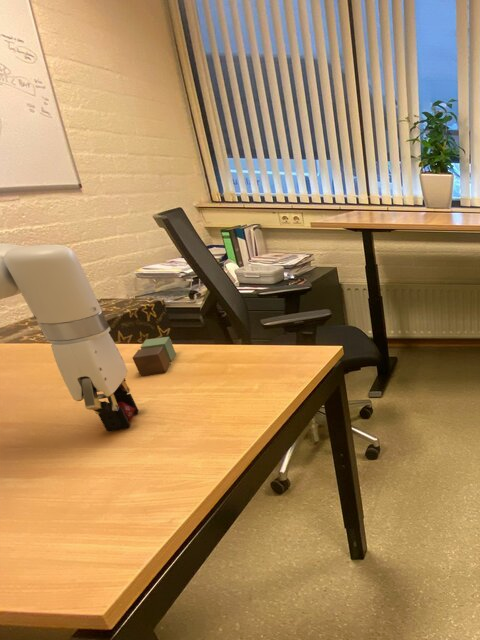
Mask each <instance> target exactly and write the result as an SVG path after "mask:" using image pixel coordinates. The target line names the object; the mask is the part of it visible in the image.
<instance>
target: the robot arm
mask: <svg viewBox="0 0 480 640" xmlns="http://www.w3.org/2000/svg"><path fill="white" fill-rule="evenodd" d="M19 294H21V295H22V298H23V299H24V301H25V303H26V305H27V307H28V308H29V310H30V312H31V314H32V315H33V317H34V319H35V321H36V322H37V325H38V326H39V328H40V330H41V332H42V333H43V335H44V337H45V339H46V342H47V343H49V344H51V346H50V347H51V350H52V354H53V358H54V361H55V363H56V366H57V368H58V371H59V372H60V376H61V377H62V379H63V381H64V384H65V386H66V388H67V390H68V392H69V393H70V395H71V397H72V399H73V400H74V401H75V402H81V401H83V400H84V406H85V409H86V410H89V411H94V413H95V414H96V415H98V417H99V419H100V421H101V423H102V425H103V427H104V428H105V430H106V432H110V433H111V432H114V431H115V432H116V431H121V430H126V429H129V428H130V427H131V423H130V422H129V421H128V419H127V417H126V415H125V413H124V411H123V409H122V407H121V408H118V404H117V403H118V402H124V403H126V404H128V405H130V406H131V407H133V408H135V411H134V414H133V415H138V413H139V411H140V410H139V408H138V406H137V403H136V402H135V400H134V397H133V395H132V394H131V393H130V392H131V390H130V387H129V386H128V384H127V380H126V377H127V374H128V369H127V366H126V363H125V361H124V359H123V356H122V354H121V352H120V350H119V348H118V346H117V345H116V343H115V341H114V339H113V337H112V336H111V334H110V333H109V332H110V331H111V326H110V325H109V323H108V320H107V318H106V316H105V314H104V312H103V310H102V308H101V306H100V303H99V302H98V298H97V296H96V295H95V292H94V290H93V288H92V286H91V284H90V282H89V279H88V278H87V276H86V273H85V271H84V269H83V266H82V265H81V262H80V260H79V258H78V256H77V254H76V252H74V250H73V249H72V248H70V247H68V246H66V245H62V244H52V243H51V244H34V245H33V244H32V245H21V244H14V243H6V242H5V243H3V242H0V300H3V299H7V298H11V297H14V296H16V295H19ZM99 392H100V393H99ZM101 392H102V393H101ZM101 399H107V401H106V400H103V401H101Z"/></svg>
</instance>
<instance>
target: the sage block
mask: <svg viewBox="0 0 480 640" xmlns="http://www.w3.org/2000/svg"><path fill="white" fill-rule="evenodd" d="M162 346H163V348H164V350H165V353H166V355H167V358H168V360H169V363H171V362H173V360H174V358H175V357H176V355H177V352H176V350H175V348H174V345H173V343H172V340H171V338H170V336H164V337H163V336H162V337H155V338H148V339H145V340H144V341H143V343H142V344H141V345H140V349H147V348H155V347H162Z"/></svg>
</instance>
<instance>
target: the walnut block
mask: <svg viewBox="0 0 480 640" xmlns="http://www.w3.org/2000/svg"><path fill="white" fill-rule="evenodd" d="M132 360H133V363H134V365H135V367H136V369H137V371H138V374H139V376H140V377H146V376H151V375H158V374H166V373H167V370H168V369H169V367H170V365H171V362H169V360H168V358H167V355H166V353H165V350H164V348H163V346H162V347H155V348H147V349H141V348H140V349H137V350H136V352H135V354H134V355H132Z"/></svg>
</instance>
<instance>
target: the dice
mask: <svg viewBox="0 0 480 640" xmlns="http://www.w3.org/2000/svg"><path fill="white" fill-rule="evenodd" d="M117 404H118V408H121V407H122V409H123V411H124V413H125V415H126V417H127V419H128V421H129V423H130V422H132V420H133V416H134V415H135V414H134V411H135V408H133V407H131V406H130V405H128V404H126V403H124V402H118V403H117Z"/></svg>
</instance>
